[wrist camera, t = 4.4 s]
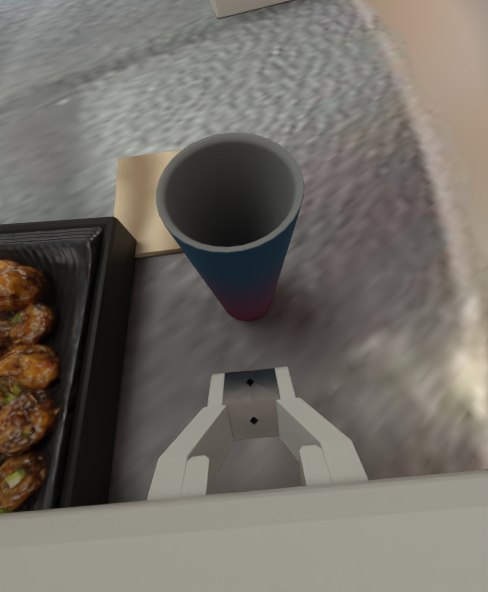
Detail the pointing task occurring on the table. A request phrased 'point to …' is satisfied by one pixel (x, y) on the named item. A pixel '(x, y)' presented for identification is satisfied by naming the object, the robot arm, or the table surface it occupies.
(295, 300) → the table surface
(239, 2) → the gable box
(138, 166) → the wooden board
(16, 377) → the food platter
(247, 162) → the cup
